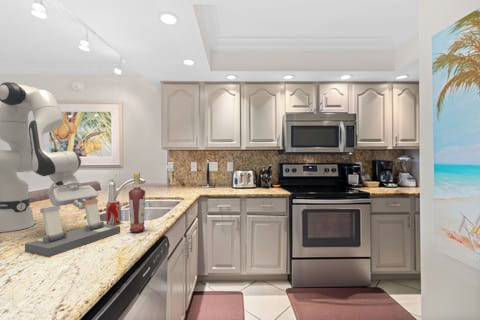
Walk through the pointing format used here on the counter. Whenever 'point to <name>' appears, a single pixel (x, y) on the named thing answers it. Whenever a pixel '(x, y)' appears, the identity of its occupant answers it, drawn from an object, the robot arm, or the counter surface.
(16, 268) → the counter surface
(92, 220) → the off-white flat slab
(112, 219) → the soda can
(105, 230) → the switch board
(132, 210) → the liquor
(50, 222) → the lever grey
